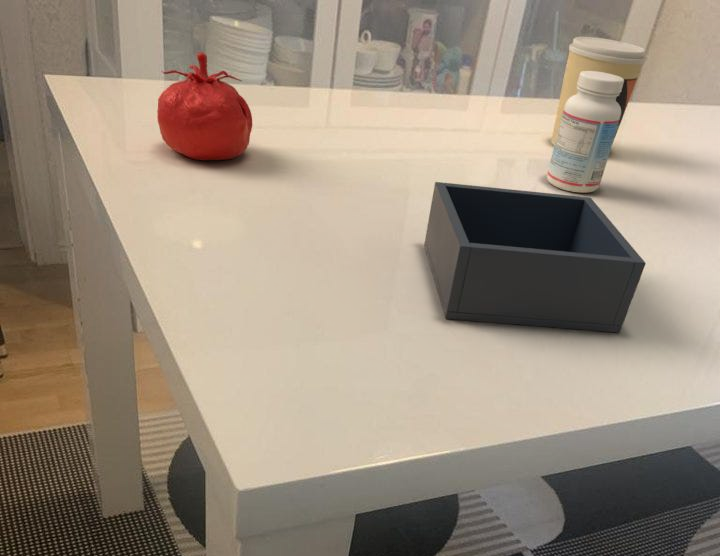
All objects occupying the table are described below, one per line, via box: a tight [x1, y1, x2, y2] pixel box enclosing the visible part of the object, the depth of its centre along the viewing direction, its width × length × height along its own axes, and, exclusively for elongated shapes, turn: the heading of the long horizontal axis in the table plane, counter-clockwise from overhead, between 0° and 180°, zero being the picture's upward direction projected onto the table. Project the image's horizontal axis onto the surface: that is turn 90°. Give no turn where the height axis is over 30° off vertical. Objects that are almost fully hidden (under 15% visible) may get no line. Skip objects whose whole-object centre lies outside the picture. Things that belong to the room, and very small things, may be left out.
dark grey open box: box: [423, 181, 646, 333], centre depth 59 cm, size 14×14×6 cm
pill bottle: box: [546, 71, 624, 194], centre depth 81 cm, size 6×6×11 cm
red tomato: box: [156, 51, 253, 161], centre depth 75 cm, size 10×10×9 cm
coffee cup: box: [551, 36, 647, 146], centre depth 94 cm, size 9×9×12 cm
